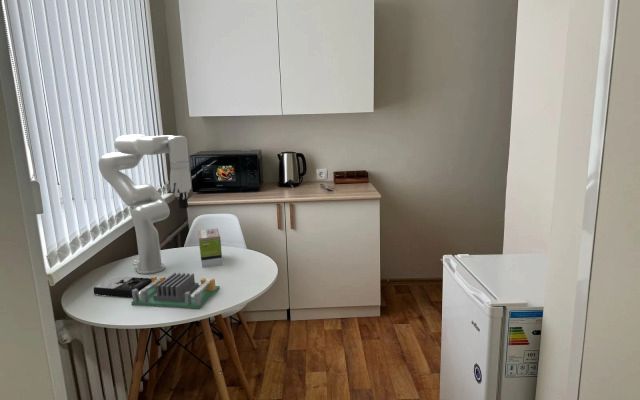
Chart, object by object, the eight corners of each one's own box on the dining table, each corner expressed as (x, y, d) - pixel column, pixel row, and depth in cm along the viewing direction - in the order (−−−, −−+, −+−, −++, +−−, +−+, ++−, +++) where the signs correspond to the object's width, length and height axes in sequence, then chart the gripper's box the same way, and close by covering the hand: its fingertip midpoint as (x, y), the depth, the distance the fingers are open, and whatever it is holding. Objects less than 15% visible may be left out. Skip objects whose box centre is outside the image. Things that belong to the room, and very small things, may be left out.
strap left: (136, 295, 168) (136, 293, 168) (157, 281, 182) (156, 278, 182) (141, 296, 168) (141, 293, 167) (161, 281, 182) (161, 278, 181)
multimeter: (134, 299, 174) (132, 287, 173) (93, 295, 179) (92, 284, 178) (154, 286, 187) (152, 275, 186) (115, 283, 191) (114, 272, 190)
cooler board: (131, 304, 168) (129, 287, 167) (158, 285, 186) (156, 269, 185) (199, 308, 163) (197, 290, 161) (219, 288, 181) (218, 272, 180)
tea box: (200, 258, 220) (197, 229, 217) (220, 255, 223) (218, 227, 220) (201, 267, 206) (198, 237, 203) (223, 265, 209) (220, 235, 206)
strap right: (189, 298, 164) (189, 295, 164) (206, 283, 178) (205, 280, 178) (194, 299, 163) (194, 296, 163) (211, 283, 177) (210, 280, 177)
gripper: (180, 163, 191) (184, 204, 195) (162, 168, 177) (166, 211, 181) (196, 163, 190) (199, 204, 194) (179, 167, 175) (183, 212, 179)
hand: (183, 207), depth 187 cm, fingers closed
